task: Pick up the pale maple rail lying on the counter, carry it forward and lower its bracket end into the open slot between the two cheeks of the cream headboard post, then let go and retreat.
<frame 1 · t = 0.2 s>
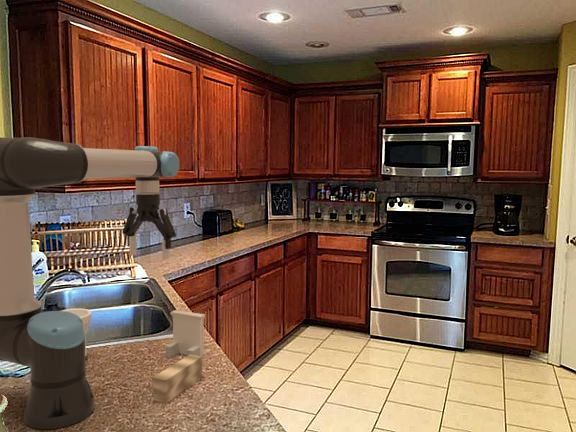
hand: (149, 256, 161), 28 cm above the worktop, fingers open, 13 cm apart
headboard: (186, 354, 149), on the worktop
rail: (179, 388, 127), on the worktop
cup: (73, 360, 145), on the worktop
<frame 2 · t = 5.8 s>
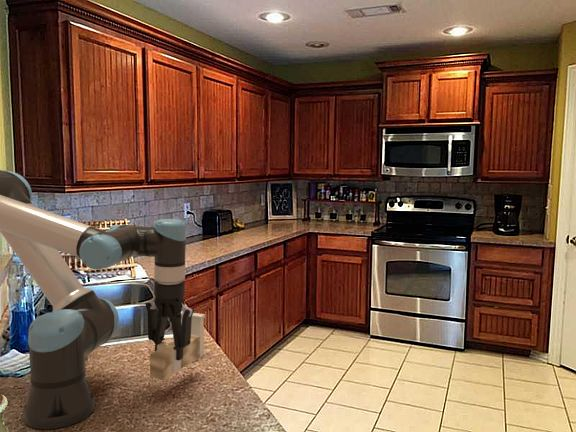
hand: (168, 369, 124), 6 cm above the worktop, fingers closed on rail, 4 cm apart
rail: (176, 366, 127), point 6 cm above the worktop, touching gripper
everything else where it was.
when the fingers open (1 cm above the worktop, at t = 9.8 s): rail stays where it is, on the worktop.
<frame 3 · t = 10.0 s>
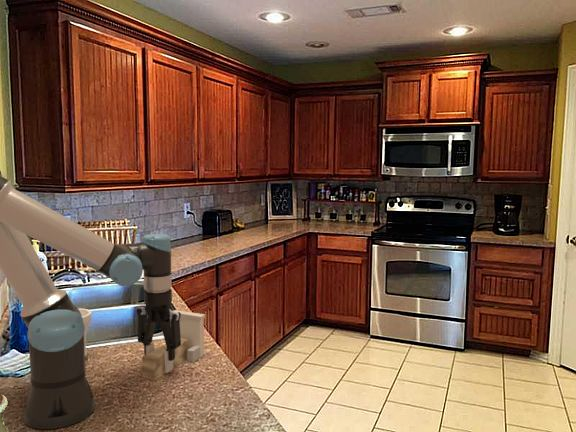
hand: (159, 368, 137), 1 cm above the worktop, fingers open, 6 cm apart
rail: (166, 367, 140), on the worktop
everything else where it was.
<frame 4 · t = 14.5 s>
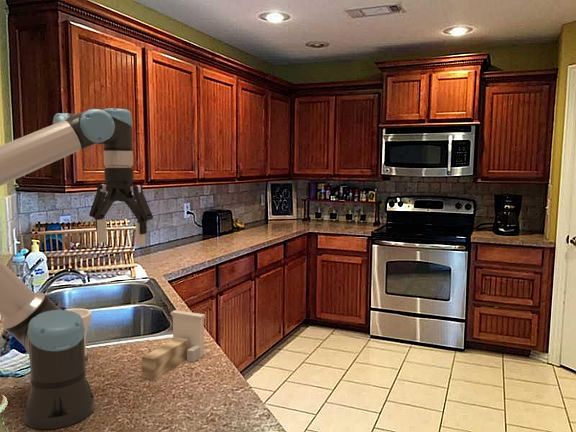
hand: (121, 244, 133), 37 cm above the worktop, fingers open, 13 cm apart
nothing on the worktop moved.
at the end: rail 0.3 cm from the target spot on the worktop beside the headboard, on the worktop; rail tilted 0°; the gripper is holding nothing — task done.
